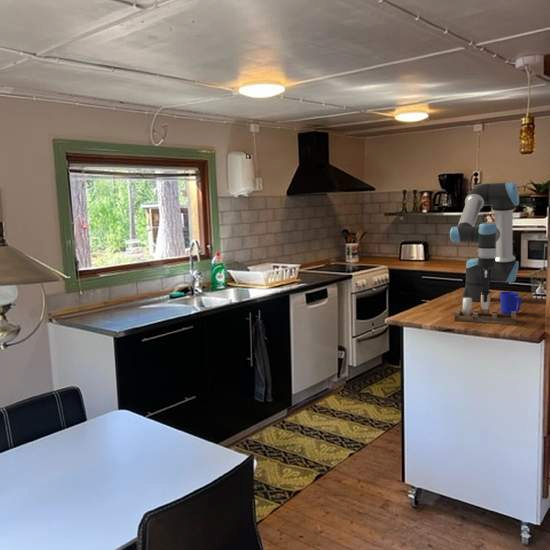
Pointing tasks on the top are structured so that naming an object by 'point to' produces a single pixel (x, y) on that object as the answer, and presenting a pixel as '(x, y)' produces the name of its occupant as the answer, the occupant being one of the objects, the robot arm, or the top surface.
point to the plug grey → (467, 307)
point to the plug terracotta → (488, 306)
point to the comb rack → (487, 317)
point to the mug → (509, 302)
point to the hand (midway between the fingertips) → (485, 307)
